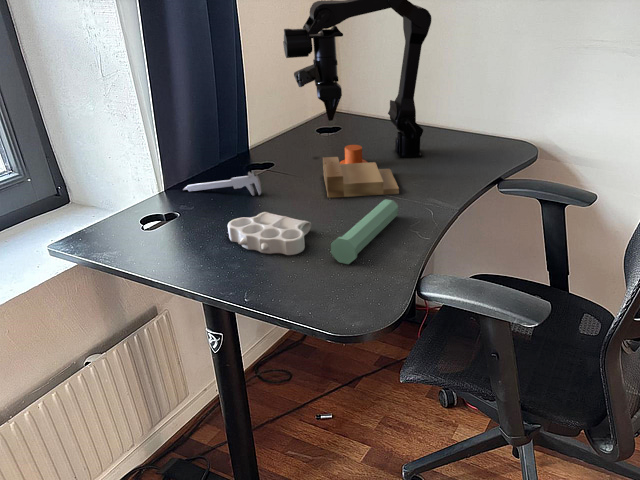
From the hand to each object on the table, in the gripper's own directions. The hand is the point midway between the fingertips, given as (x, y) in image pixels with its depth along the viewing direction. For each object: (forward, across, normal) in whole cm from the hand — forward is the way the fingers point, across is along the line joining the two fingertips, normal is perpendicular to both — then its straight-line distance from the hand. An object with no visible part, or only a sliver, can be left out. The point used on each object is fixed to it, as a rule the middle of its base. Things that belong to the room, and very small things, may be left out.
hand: (329, 115), depth 167 cm
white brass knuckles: (+13, +47, -17) cm, 52 cm away
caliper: (+13, +19, -29) cm, 37 cm away
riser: (+13, +19, +6) cm, 24 cm away
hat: (+13, +4, +6) cm, 15 cm away
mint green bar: (+13, +49, +5) cm, 51 cm away
